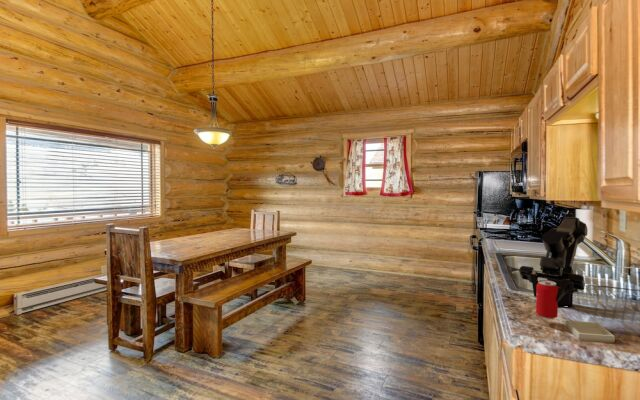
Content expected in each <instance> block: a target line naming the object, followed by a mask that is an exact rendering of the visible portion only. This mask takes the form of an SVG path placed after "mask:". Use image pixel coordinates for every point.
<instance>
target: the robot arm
mask: <svg viewBox="0 0 640 400" xmlns="http://www.w3.org/2000/svg"><path fill="white" fill-rule="evenodd" d="M588 230H589V229H588V225H587V223H585V222H584V221H581V220H580V218H579V217H577V216H576V217H574V216H573V217H572V216H564V217H563V218H562V221H561V223H560V225H559V226H558V227H556V228H550V230H549V231H548V230H547V231H546V232H544V233H543V234H542V235H541V239H542V242H543V246H544V249H545V250H546V253H545V256H540V260H539V266H540V271H541V272H540V271H538V270H535V269H534V267H533V266H528V265H527V266H526V265H521V266H520V267H519V270H518V273H519V275H520V277H521V279H522V280H525V281H528V282H529V283H531V284H532V290H533V296H534V298H536V286H537V284H538V281H539V280H538V278H540V279H544V280H548V281H553V282H555V283H556V285H557V287H558V295H557V299H556V301H557V302H558V308H562V307H561V306H568V307H575V306H574V304H573V301H574V300H573V299H574V297H573V296H574V293H578V290H579V291H585V287H586V282H585V277H584V276H583V274H578V273H574V270H573V264H574V261H575V257H576V252H577V249H578V245H579V244H581V243H583V242H584V241H585V238H586V237H587V236H588V233H589V232H588ZM568 307H567V308H568ZM575 308H576V307H575Z"/></svg>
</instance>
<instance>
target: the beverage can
mask: <svg viewBox="0 0 640 400" xmlns="http://www.w3.org/2000/svg"><path fill="white" fill-rule="evenodd" d="M557 295H558V287H557V285H556V283H555V282H553V281H548V280H547V279H542V280H541V279H540V280H538V284H537V286H536V297H535V314H536V315H537V316H538V317H540V318H542V319H545V320H554V319H556V318H557V317H558V309H559V307H558V302H557V301H556V299H557Z"/></svg>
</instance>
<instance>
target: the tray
mask: <svg viewBox="0 0 640 400" xmlns="http://www.w3.org/2000/svg"><path fill="white" fill-rule="evenodd" d="M564 322H565V323H564V326H565V328H566V329H567V330H568V331H570V333H571V334H572V335H574V337H575V338H576V339H577V340H579V341H587V342H589V341H590V342H601V343H603V342H604V343H612V344H613V343H614V344H615V342H616V341H615V339H616V336H615V335H614V334H613V333H611V332H610V331H609V330H608V329H607V328H605V327H604V326H603V325H602V324H600V323H599V322H594V321H592V322H591V321H580V320H579V321H578V320H577V321H576V320H564Z"/></svg>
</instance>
